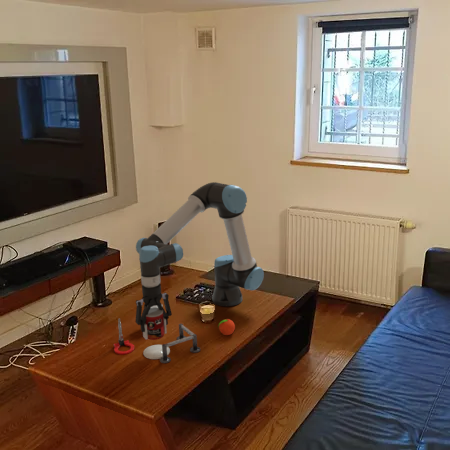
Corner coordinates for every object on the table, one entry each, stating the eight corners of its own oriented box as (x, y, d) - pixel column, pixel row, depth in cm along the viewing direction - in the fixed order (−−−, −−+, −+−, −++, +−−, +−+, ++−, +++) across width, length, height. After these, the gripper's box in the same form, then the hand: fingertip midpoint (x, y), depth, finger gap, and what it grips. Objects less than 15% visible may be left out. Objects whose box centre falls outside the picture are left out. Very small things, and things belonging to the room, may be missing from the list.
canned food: (143, 339, 224) (141, 315, 221) (149, 330, 232) (147, 306, 228) (161, 341, 223) (159, 316, 219) (167, 331, 230) (165, 307, 227)
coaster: (162, 343, 237) (162, 342, 237) (174, 353, 228) (174, 352, 228) (139, 351, 231) (139, 349, 231) (150, 362, 222) (150, 360, 222)
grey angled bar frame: (183, 335, 243) (182, 321, 241) (202, 350, 229) (201, 335, 227) (145, 348, 233) (144, 333, 231) (162, 364, 220) (161, 349, 218)
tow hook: (137, 352, 231) (130, 342, 239) (134, 325, 227) (128, 315, 235) (117, 357, 228) (111, 346, 236) (114, 330, 223) (108, 320, 231)
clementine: (221, 339, 238) (220, 325, 236) (214, 333, 244) (214, 318, 242) (237, 335, 241) (237, 320, 239) (231, 329, 247) (230, 314, 245)
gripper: (130, 293, 212) (135, 346, 219) (178, 280, 223) (181, 331, 229) (123, 287, 218) (128, 338, 225) (170, 275, 229) (173, 325, 235)
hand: (155, 335), depth 227 cm, fingers closed on canned food, 8 cm apart
